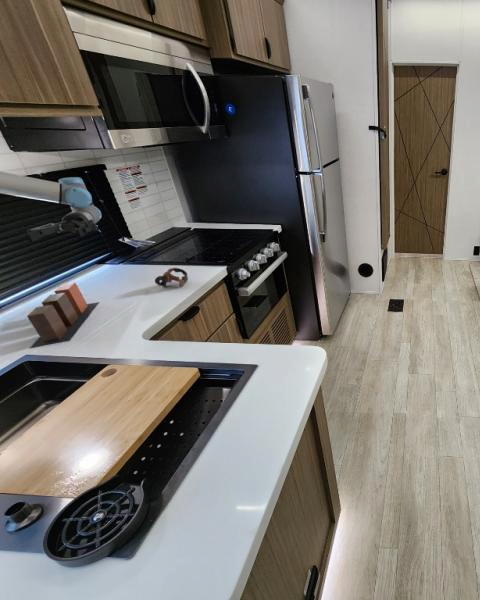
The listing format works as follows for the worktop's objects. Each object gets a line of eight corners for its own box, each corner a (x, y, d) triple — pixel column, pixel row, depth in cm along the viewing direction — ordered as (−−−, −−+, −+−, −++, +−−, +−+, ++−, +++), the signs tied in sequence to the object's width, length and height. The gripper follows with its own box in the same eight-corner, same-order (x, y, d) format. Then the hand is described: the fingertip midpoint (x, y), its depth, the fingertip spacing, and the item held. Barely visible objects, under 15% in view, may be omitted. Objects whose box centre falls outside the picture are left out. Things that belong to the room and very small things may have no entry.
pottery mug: (176, 279, 148) (180, 264, 145) (190, 292, 146) (194, 277, 143) (147, 284, 137) (151, 268, 134) (161, 297, 135) (166, 281, 132)
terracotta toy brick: (67, 315, 119) (53, 291, 115) (74, 308, 124) (60, 284, 119) (82, 313, 121) (68, 289, 116) (88, 305, 126) (75, 282, 121)
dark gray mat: (67, 308, 125) (67, 307, 125) (100, 303, 129) (99, 302, 128) (30, 350, 103) (28, 348, 102) (70, 342, 106) (69, 340, 106)
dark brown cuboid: (43, 343, 105) (25, 316, 100) (51, 333, 110) (35, 307, 105) (59, 339, 106) (43, 313, 101) (67, 330, 111) (52, 304, 106)
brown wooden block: (56, 328, 112) (40, 302, 107) (63, 319, 117) (49, 295, 112) (71, 325, 114) (57, 300, 109) (78, 317, 118) (64, 292, 114)
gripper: (118, 226, 141) (101, 241, 124) (43, 234, 133) (14, 250, 115) (111, 209, 138) (92, 221, 120) (33, 215, 129) (1, 229, 112)
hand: (54, 236), depth 118 cm, fingers open, 13 cm apart
